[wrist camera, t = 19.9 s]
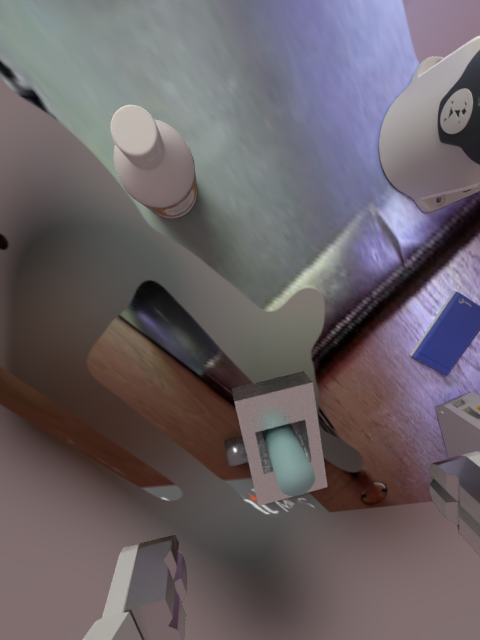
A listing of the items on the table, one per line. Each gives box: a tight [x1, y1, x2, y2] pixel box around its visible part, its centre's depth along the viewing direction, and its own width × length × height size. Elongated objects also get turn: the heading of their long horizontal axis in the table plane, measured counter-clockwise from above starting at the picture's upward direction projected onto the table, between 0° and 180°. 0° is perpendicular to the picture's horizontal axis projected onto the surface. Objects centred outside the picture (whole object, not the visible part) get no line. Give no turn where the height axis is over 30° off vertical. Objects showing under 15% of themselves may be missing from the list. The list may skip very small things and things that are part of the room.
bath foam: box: [111, 105, 197, 218], centre depth 27 cm, size 7×7×20 cm
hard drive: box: [410, 291, 480, 376], centre depth 47 cm, size 2×8×12 cm
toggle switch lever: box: [263, 424, 315, 497], centre depth 43 cm, size 5×7×10 cm
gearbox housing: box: [225, 371, 327, 506], centre depth 46 cm, size 15×20×4 cm
